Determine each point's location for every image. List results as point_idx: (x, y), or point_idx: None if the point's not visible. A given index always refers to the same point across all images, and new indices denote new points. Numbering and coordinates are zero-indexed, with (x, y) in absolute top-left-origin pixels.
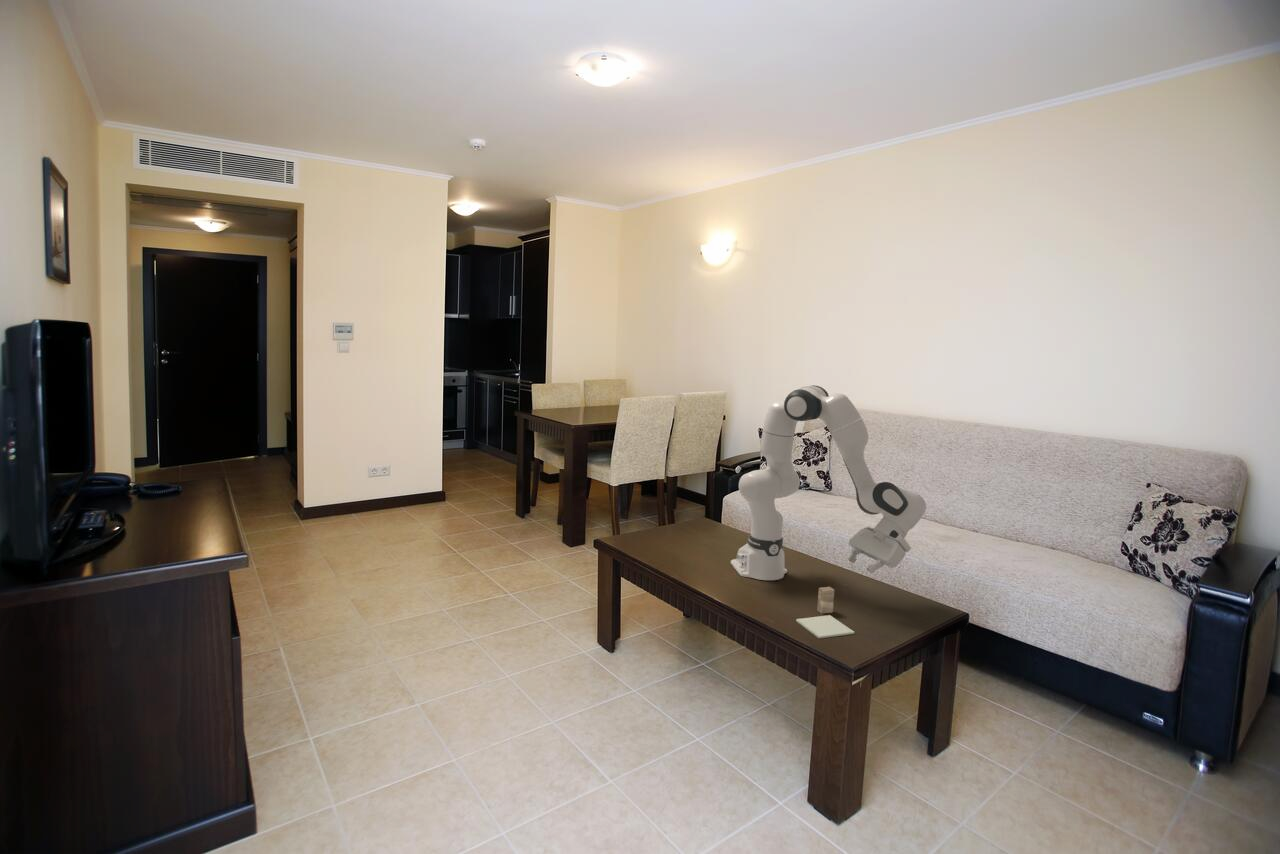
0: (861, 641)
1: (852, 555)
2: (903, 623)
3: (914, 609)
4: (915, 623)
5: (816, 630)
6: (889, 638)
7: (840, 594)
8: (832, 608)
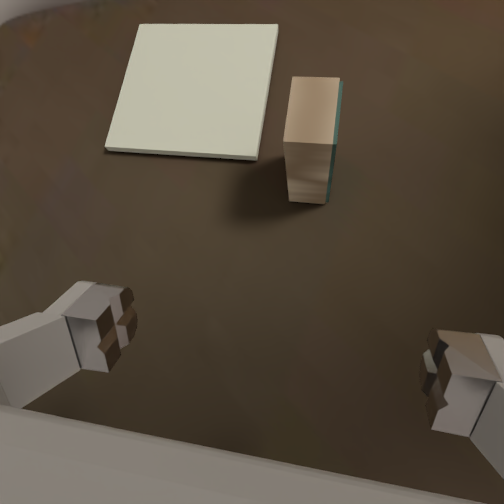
0: (64, 141)
1: (489, 377)
2: None
3: None
4: None
5: (175, 38)
6: (24, 248)
7: None
8: (289, 190)
